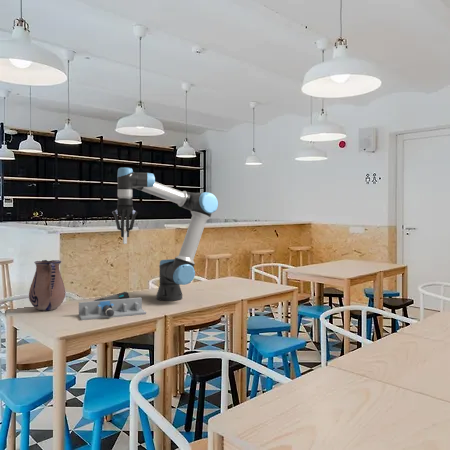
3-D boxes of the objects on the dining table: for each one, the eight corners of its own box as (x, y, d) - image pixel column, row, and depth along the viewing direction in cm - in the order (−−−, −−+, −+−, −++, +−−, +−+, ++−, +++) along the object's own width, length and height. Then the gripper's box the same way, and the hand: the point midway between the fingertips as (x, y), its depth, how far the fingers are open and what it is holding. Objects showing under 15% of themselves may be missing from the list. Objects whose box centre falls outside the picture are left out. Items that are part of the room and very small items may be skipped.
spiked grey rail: (141, 309, 232) (141, 297, 231) (146, 314, 223) (146, 301, 222) (78, 315, 218) (78, 302, 218) (81, 320, 209) (81, 306, 209)
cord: (101, 311, 221) (104, 304, 221) (108, 312, 222) (111, 306, 223) (105, 315, 212) (107, 308, 212) (112, 317, 213) (115, 310, 213)
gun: (132, 304, 242) (126, 288, 240) (97, 320, 234) (90, 303, 232) (130, 303, 246) (124, 286, 244) (95, 318, 238) (89, 301, 236)
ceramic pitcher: (56, 303, 244) (56, 258, 243) (74, 310, 229) (74, 261, 228) (23, 308, 232) (23, 260, 231) (40, 316, 217) (39, 264, 216)
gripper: (135, 198, 236) (135, 242, 237) (110, 197, 230) (110, 243, 231) (139, 198, 229) (139, 243, 230) (113, 197, 223) (113, 244, 224)
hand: (124, 243), depth 231 cm, fingers closed
